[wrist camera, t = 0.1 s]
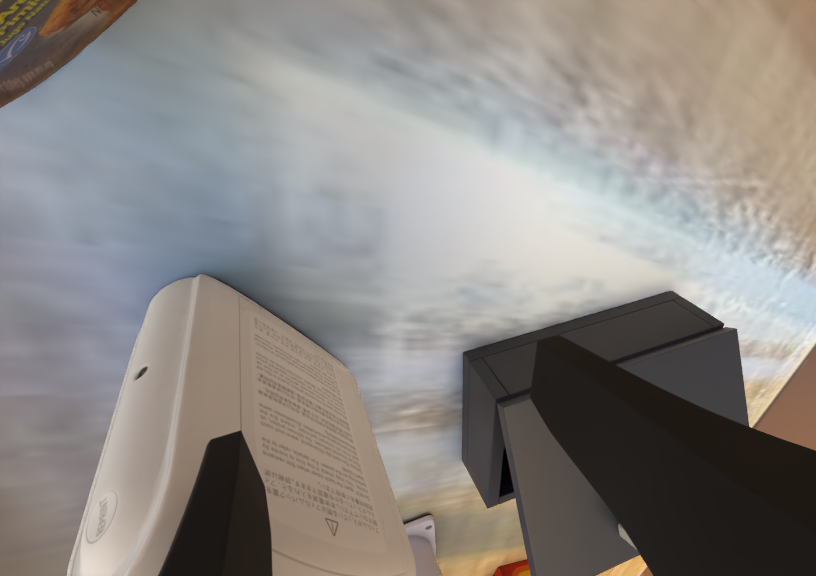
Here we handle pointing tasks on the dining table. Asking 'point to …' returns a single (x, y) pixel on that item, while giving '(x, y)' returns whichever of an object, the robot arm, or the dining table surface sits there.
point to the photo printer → (264, 434)
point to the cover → (568, 488)
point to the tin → (47, 37)
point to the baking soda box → (514, 569)
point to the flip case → (514, 362)
